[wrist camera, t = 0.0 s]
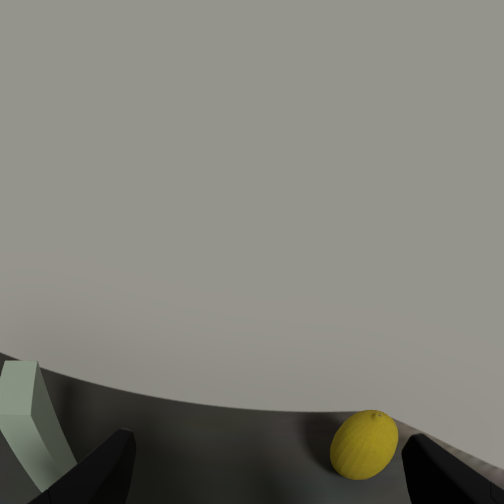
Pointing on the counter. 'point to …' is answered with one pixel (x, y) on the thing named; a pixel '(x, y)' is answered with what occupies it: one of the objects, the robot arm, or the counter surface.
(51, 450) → the door panel
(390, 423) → the lemon
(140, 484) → the counter surface
